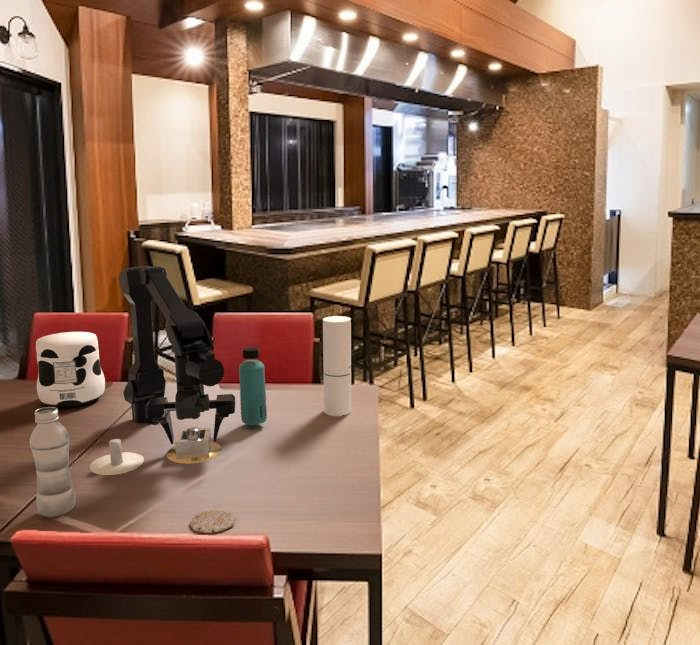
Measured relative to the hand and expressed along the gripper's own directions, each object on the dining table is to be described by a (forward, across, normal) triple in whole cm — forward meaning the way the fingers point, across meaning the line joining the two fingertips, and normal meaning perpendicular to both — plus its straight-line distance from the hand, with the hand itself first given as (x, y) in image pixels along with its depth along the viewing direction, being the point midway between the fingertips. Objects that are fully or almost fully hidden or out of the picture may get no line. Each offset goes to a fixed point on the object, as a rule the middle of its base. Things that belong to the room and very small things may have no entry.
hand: (193, 442), depth 141 cm
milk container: (+3, -37, +42) cm, 56 cm away
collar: (+2, 0, 0) cm, 2 cm away
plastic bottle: (+3, -23, -22) cm, 32 cm away
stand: (+3, -16, -4) cm, 17 cm away
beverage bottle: (+3, +13, +15) cm, 20 cm away
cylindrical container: (+3, +35, +22) cm, 41 cm away
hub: (+3, 0, 0) cm, 3 cm away
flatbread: (+3, +6, -30) cm, 31 cm away
